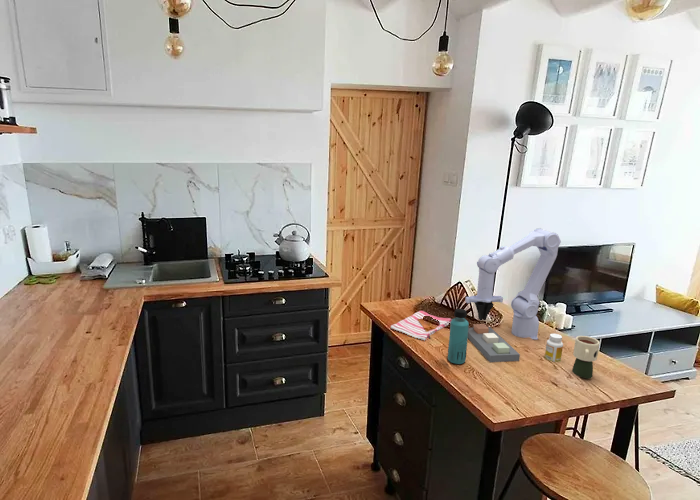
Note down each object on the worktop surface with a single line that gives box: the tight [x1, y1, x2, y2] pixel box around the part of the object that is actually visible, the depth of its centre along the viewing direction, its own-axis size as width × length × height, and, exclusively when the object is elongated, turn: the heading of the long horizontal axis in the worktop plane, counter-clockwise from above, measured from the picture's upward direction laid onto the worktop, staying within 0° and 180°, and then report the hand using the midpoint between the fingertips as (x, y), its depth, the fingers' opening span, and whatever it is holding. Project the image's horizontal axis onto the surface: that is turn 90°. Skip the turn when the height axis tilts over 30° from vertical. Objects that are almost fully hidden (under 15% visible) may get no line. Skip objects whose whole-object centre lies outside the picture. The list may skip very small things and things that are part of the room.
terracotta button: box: [473, 323, 489, 334], centre depth 177 cm, size 4×4×3 cm
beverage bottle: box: [447, 308, 470, 365], centre depth 155 cm, size 6×7×20 cm
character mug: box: [571, 335, 601, 379], centre depth 150 cm, size 11×7×13 cm, turn 154°
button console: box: [467, 326, 521, 363], centre depth 169 cm, size 11×24×4 cm, turn 8°
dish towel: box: [390, 310, 453, 342], centre depth 188 cm, size 17×23×4 cm
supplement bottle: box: [544, 333, 564, 363], centre depth 160 cm, size 5×5×10 cm
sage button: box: [493, 343, 510, 354], centre depth 160 cm, size 4×4×3 cm
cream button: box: [483, 333, 499, 343], centre depth 168 cm, size 4×4×3 cm
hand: (482, 319), depth 176 cm, fingers closed
